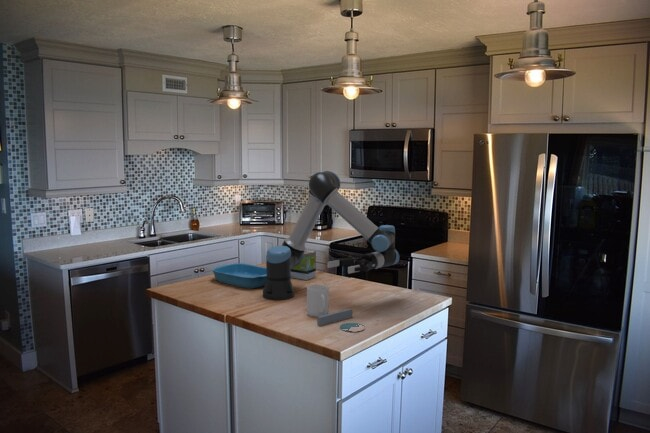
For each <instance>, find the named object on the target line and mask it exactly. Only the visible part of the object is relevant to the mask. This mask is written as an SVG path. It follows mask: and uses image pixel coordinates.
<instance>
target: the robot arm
mask: <svg viewBox="0 0 650 433" xmlns="http://www.w3.org/2000/svg"><path fill="white" fill-rule="evenodd" d="M340 188H341V180H340V177H339V176H338V175H337V174H336V173H335V172H333V171H330V170H325V171H319V172H315V173H314V174H313V175H312V176H311V177H310V179H309V181H308V189H309V190H308V194H309V198H308V199H307V201H306V203H305V205H304V207H303V209H302V211H301V213H300V216H299V217H298V220H297V221H296V223H295V225H294V228H293V229H292V231H291V233H290V235H289V236H288V237H286V238H285V239H284V240H283V242H282V244H281V245H276V246H271V247H270V248H268V249H267V250H266V255H265V260H266V262H265V263H266V267H265V268H266V283H265V285H264V287H263V290H262V297H263V298H264V299H268V300H275V301H276V300H277V301H278V300H279V301H280V300H288V299H289V300H290V299H292V298H293V297H294V296H295V289H294V286H293V284H292V280H291V269H292V268H293V267H296V266H297V265H299V264H300V262H301V261H302V259H303V255H304V254H303V253H304V251H305V250H307V249H306V245H305V244H306V243H307V241H308V239H309V237H310V235H311V234H312V231H313V229H314V228H315V225H316V224H317V222H318V219H319V218H320V216H321V214H322V212H323V210H324V208H325V207H326V205H327V206H328V207H330V208H331V210H333V211H334V212H335V213H337V214H338V216H340V217H341V218H342V219H343V220H344V221H345V222H346V223H348V224H349V225H350V227H352V228H353V229H355V231H357V232H358V233H359V234H360V235H361V236H362V237H363V238H365V240H366V241H367V242H369V243H370V244H371V248H372V249H373V250H374V252H370V253H365V254H363V255H362V256H361V257H357V258H356V257H344V258H342V257H341V258H340V257H339V258H335V260H332V261H331V260H330V261H327V262H326V263H327V264H326V266H327V269H331V268H335V267H338V268H339V267H340V266H347V274H348V275H349V274H354V273H359V272H365V273H367V272H369V271H372V270H374V269H375V270H378V269H380V268H383V267H390V266H394V265H396V264H398V263H399V260H400V254H399V252H398V251H397V249H396V248H395V247H396V246H395V245H396V228H395V226H394V225H392V224H391V225H389V224H385V225H384V224H382V225H380V226H377V225H376V224H374V223H373V222H372V220H370V219H369V218H368V217H367V216H365V215H364V214H363V213H362V211H360V210H359V209H358V208H357V207H356V206H354V205H353V203H351V202H350V201H349V200H348V199H347V198H346V197H344V196H343V195H342V194H341V193H340V192H339V190H340Z"/></svg>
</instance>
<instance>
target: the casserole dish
mask: <svg viewBox="0 0 650 433" xmlns="http://www.w3.org/2000/svg"><path fill="white" fill-rule="evenodd" d="M212 273H213V275H214V277H215V280H217V281H218V282H219V283H223V284H226V285H227V284H228V285H231V286H236V287H238V288H239V287H240V288H243V289H255V288H260V287H262V286H265V283H266V267H263V266H259V265H253V264H249V263H241V262H237V263H235V262H234V263H229V264H228V263H227V264H222V265H217V266H216V267H214V268H212Z"/></svg>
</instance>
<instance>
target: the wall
mask: <svg viewBox="0 0 650 433" xmlns="http://www.w3.org/2000/svg"><path fill="white" fill-rule="evenodd" d="M353 311H354V310H353V309H352V308H345V309H343V310H338V311H334V312H331V313H328V314H326V315H322V316H319V317H316V318H317V321H316V322H317V323H316V324H317V326H318V325H319V327H321V325H322V326H326V325H330V324H333V323H336V322H337V323H338V322H341V321H344V320H347V318H348V319H351V317H352V318H353ZM340 320H341V321H340ZM332 322H333V323H332ZM329 323H330V324H329ZM325 324H326V325H325Z"/></svg>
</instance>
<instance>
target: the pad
mask: <svg viewBox="0 0 650 433" xmlns="http://www.w3.org/2000/svg"><path fill="white" fill-rule="evenodd" d="M358 324H359V325H362V326H364V327H365V328H366V326H365V325H363V324H361V323H358V322H357V323H356V322H347V323H342V324H340V326H339V329H340V328H341V329H348V330H346V331H349V329H350V328H351V327H359V325H358ZM356 325H357V326H356ZM341 329H340V330H341ZM346 331H345V332H346Z"/></svg>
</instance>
